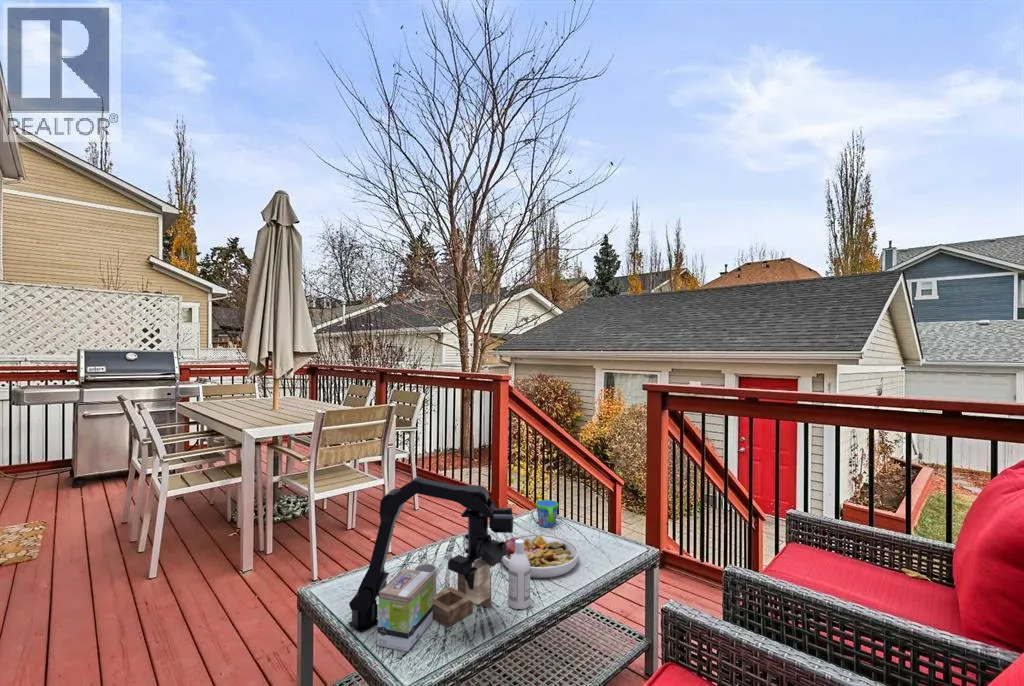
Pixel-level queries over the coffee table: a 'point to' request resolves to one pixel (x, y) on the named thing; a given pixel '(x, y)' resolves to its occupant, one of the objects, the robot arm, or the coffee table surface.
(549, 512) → the snack cup
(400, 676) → the coffee table surface
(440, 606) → the socket block
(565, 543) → the bowl
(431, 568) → the cup
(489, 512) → the robot arm
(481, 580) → the peg
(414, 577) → the tea box
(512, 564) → the bath foam
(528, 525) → the coffee table surface
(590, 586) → the coffee table surface
